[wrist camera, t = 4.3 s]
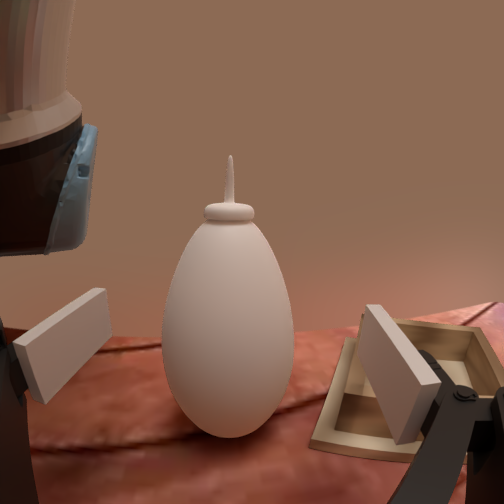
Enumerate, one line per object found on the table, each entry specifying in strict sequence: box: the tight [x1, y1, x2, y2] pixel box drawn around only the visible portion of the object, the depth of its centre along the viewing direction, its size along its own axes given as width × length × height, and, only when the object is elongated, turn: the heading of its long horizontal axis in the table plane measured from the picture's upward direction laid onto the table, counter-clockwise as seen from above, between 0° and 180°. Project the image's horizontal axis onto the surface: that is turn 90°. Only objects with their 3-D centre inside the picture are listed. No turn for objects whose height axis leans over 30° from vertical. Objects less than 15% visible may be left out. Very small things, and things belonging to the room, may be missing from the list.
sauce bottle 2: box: [162, 155, 294, 438], centre depth 17 cm, size 8×8×18 cm
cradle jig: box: [309, 314, 504, 464], centre depth 21 cm, size 16×16×4 cm
